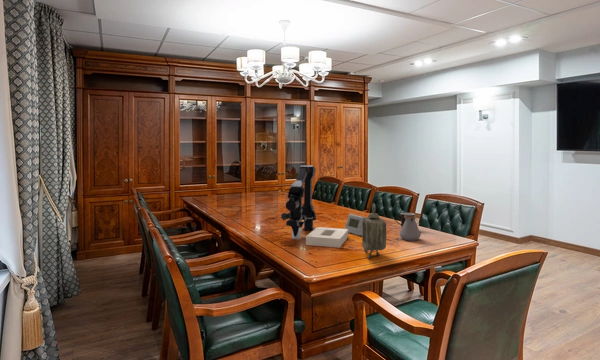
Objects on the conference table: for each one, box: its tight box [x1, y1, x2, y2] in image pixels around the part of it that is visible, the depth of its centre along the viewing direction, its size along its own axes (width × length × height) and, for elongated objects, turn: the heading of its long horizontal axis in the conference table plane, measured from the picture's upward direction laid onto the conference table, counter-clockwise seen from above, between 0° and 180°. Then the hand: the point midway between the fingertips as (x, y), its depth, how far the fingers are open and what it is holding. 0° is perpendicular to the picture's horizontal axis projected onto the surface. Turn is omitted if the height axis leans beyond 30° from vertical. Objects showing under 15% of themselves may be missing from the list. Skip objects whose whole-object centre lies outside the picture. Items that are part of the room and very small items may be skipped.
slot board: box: [305, 226, 349, 249], centre depth 205 cm, size 24×18×4 cm
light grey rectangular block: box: [291, 227, 302, 240], centre depth 210 cm, size 4×4×6 cm
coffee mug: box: [393, 212, 416, 228], centre depth 234 cm, size 12×9×10 cm
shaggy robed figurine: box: [361, 202, 387, 260], centre depth 176 cm, size 14×9×25 cm, turn 178°
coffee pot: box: [399, 215, 422, 242], centre depth 204 cm, size 21×12×15 cm, turn 167°
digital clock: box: [344, 213, 364, 237], centre depth 222 cm, size 16×9×11 cm, turn 22°
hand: (296, 235), depth 210 cm, fingers closed on light grey rectangular block, 4 cm apart
